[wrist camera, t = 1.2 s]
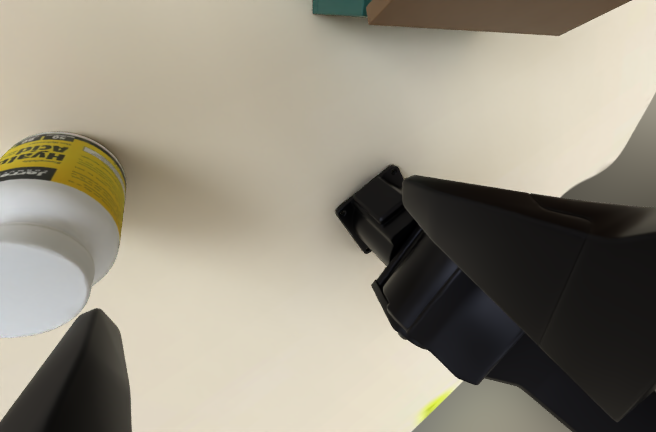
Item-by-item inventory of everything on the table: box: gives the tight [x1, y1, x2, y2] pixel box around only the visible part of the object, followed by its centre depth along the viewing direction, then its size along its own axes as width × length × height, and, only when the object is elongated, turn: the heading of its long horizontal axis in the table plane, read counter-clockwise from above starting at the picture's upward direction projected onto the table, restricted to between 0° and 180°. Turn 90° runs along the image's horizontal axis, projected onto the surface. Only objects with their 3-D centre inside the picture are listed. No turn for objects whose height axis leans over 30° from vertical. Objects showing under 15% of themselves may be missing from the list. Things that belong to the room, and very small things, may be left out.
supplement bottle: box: [0, 132, 126, 338], centre depth 15 cm, size 5×5×10 cm
